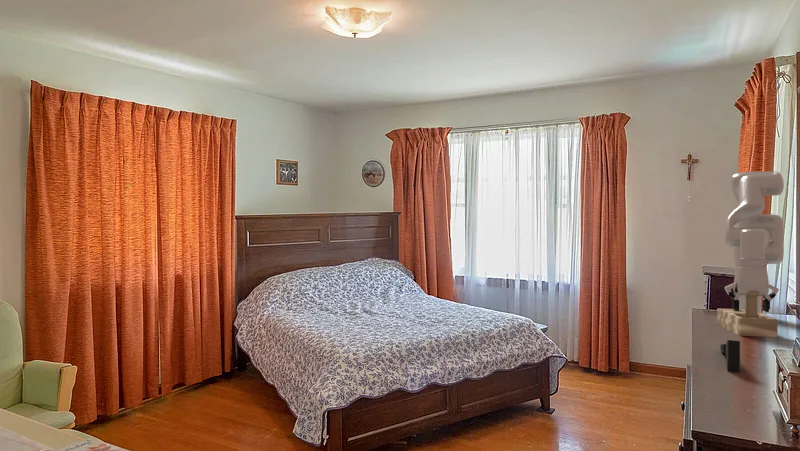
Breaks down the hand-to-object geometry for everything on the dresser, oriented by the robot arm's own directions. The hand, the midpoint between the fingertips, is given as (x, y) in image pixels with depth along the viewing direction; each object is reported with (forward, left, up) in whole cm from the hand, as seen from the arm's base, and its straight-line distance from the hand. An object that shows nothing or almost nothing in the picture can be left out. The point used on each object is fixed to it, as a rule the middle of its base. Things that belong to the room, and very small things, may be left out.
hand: (750, 310), depth 196 cm
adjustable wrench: (+43, -24, -8) cm, 50 cm away
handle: (0, 0, -8) cm, 8 cm away
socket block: (-4, 0, -8) cm, 9 cm away
